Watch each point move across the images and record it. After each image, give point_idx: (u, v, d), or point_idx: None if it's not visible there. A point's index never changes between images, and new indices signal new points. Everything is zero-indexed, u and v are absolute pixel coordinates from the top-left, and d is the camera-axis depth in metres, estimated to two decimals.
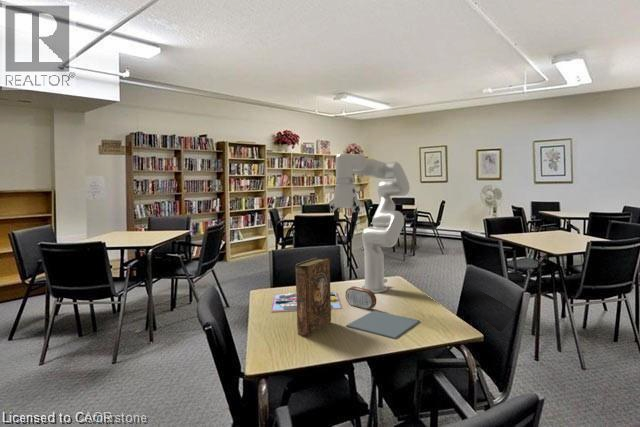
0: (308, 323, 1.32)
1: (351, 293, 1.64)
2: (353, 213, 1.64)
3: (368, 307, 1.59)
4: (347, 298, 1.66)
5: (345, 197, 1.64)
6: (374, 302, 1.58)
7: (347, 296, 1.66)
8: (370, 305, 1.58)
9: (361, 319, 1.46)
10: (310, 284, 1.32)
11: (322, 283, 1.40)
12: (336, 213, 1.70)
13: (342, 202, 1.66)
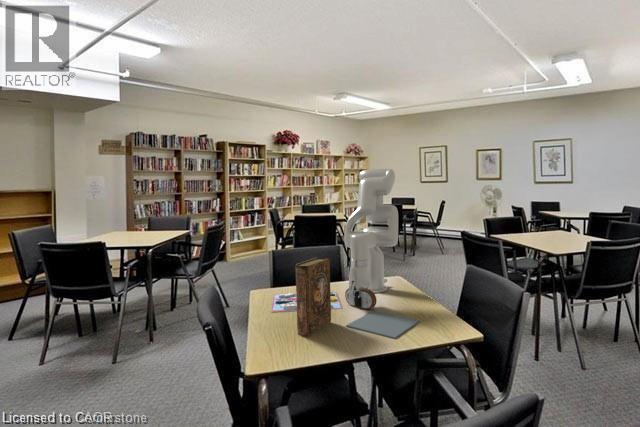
0: (308, 323, 1.32)
1: (350, 293, 1.64)
2: None
3: (368, 307, 1.59)
4: (347, 298, 1.66)
5: (367, 278, 1.62)
6: (374, 302, 1.58)
7: (347, 296, 1.66)
8: (370, 305, 1.58)
9: (361, 319, 1.46)
10: (310, 284, 1.32)
11: (322, 283, 1.40)
12: None
13: (364, 284, 1.61)
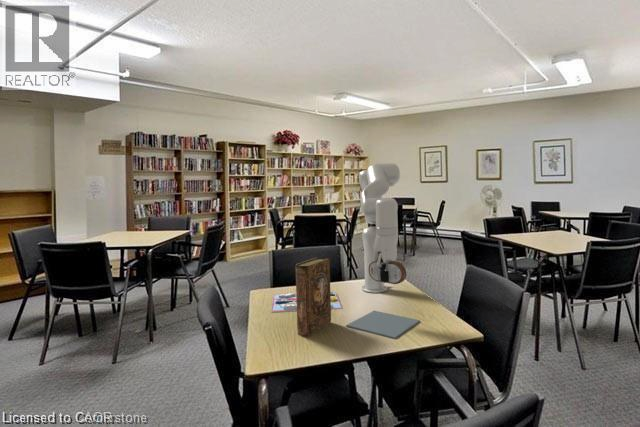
0: (308, 323, 1.32)
1: (375, 267, 1.45)
2: None
3: (397, 281, 1.39)
4: (371, 273, 1.46)
5: (394, 249, 1.43)
6: (404, 275, 1.39)
7: (371, 270, 1.46)
8: (399, 279, 1.39)
9: (361, 319, 1.46)
10: (310, 284, 1.32)
11: (322, 283, 1.40)
12: None
13: (392, 255, 1.41)
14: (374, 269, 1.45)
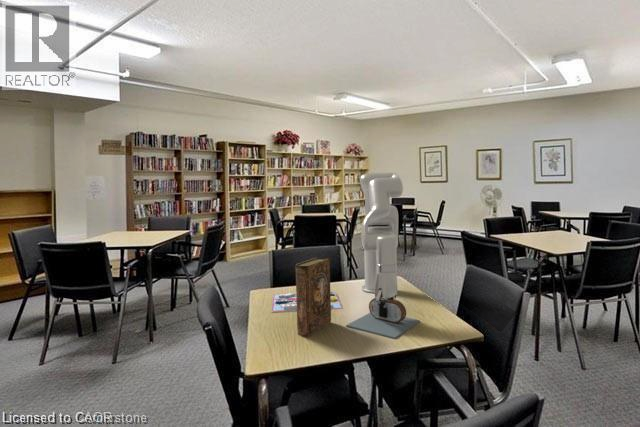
0: (308, 323, 1.32)
1: (375, 304, 1.46)
2: None
3: (397, 320, 1.40)
4: (371, 310, 1.47)
5: (395, 285, 1.44)
6: (404, 314, 1.40)
7: (371, 308, 1.47)
8: (399, 318, 1.40)
9: (361, 319, 1.46)
10: (310, 284, 1.32)
11: (322, 283, 1.40)
12: None
13: (392, 291, 1.42)
14: (374, 307, 1.46)
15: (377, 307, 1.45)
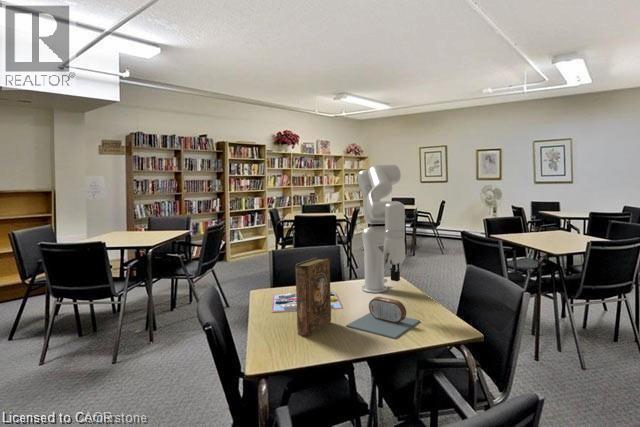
0: (308, 323, 1.32)
1: (375, 304, 1.46)
2: None
3: (397, 320, 1.40)
4: (371, 310, 1.47)
5: (402, 251, 1.48)
6: (404, 314, 1.40)
7: (371, 308, 1.47)
8: (399, 318, 1.40)
9: (361, 319, 1.46)
10: (310, 284, 1.32)
11: (322, 283, 1.40)
12: None
13: (400, 257, 1.47)
14: (374, 307, 1.46)
15: (377, 307, 1.45)
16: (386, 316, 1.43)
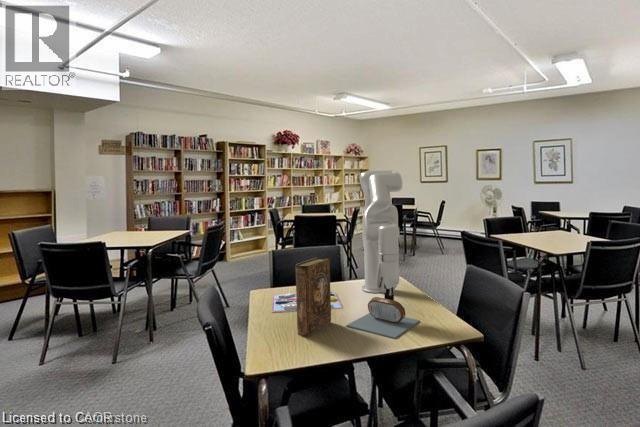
0: (308, 323, 1.32)
1: (374, 305, 1.45)
2: None
3: (397, 320, 1.40)
4: (370, 310, 1.47)
5: (396, 274, 1.44)
6: (403, 315, 1.39)
7: (370, 308, 1.47)
8: (399, 318, 1.39)
9: (361, 319, 1.46)
10: (310, 284, 1.32)
11: (322, 283, 1.40)
12: None
13: (394, 281, 1.43)
14: (373, 307, 1.46)
15: (376, 308, 1.45)
16: (386, 316, 1.43)
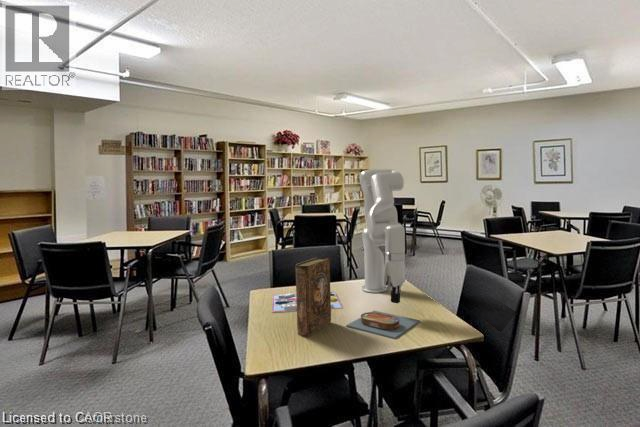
0: (308, 323, 1.32)
1: None
2: None
3: None
4: None
5: (403, 273, 1.49)
6: (398, 324, 1.36)
7: None
8: None
9: None
10: (310, 284, 1.32)
11: (322, 283, 1.40)
12: None
13: (400, 279, 1.48)
14: None
15: None
16: None
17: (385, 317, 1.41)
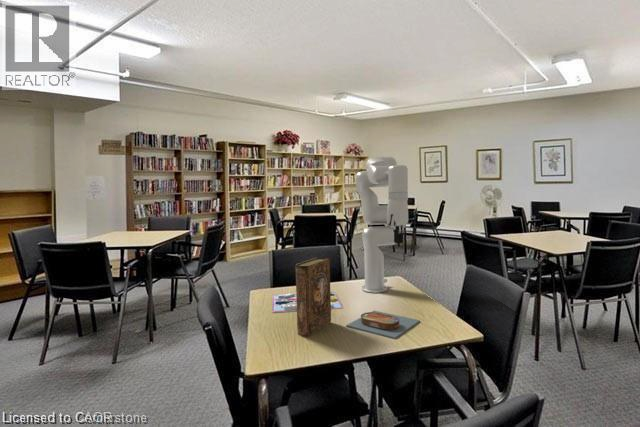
0: (308, 323, 1.32)
1: None
2: None
3: None
4: None
5: (406, 213, 1.49)
6: (398, 324, 1.36)
7: None
8: None
9: None
10: (310, 284, 1.32)
11: (322, 283, 1.40)
12: None
13: (403, 219, 1.48)
14: None
15: None
16: None
17: (385, 317, 1.41)
